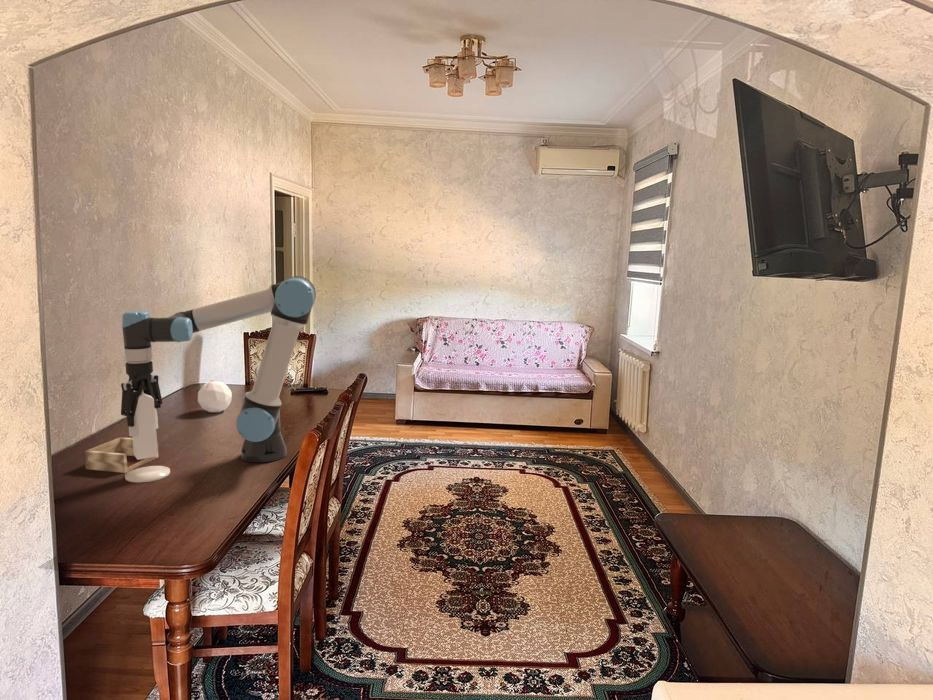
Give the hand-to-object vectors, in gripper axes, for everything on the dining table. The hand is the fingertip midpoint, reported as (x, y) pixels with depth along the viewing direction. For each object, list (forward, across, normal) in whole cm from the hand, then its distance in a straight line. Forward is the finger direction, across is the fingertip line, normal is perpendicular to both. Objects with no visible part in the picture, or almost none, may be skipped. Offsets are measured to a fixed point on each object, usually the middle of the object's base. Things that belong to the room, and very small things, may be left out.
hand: (144, 431), depth 206 cm
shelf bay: (+14, -8, -16) cm, 23 cm away
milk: (+8, 0, 0) cm, 8 cm away
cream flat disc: (+14, 0, 0) cm, 14 cm away
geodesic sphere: (+15, -74, -25) cm, 80 cm away
